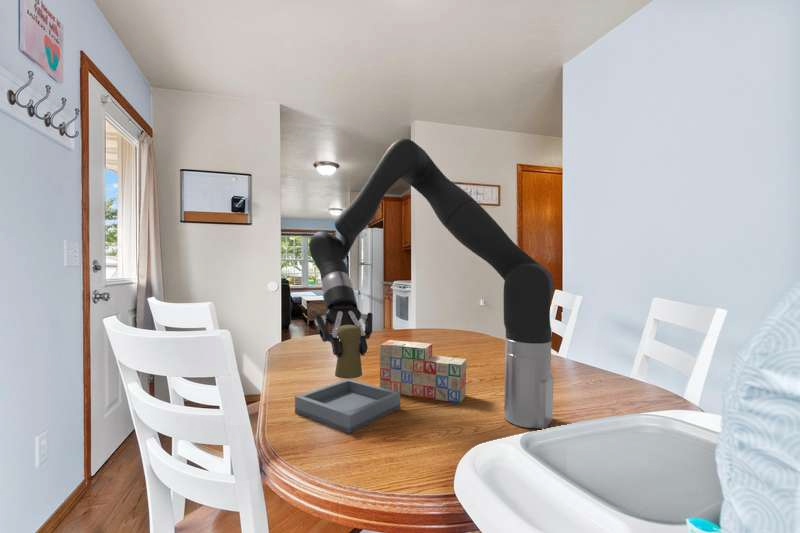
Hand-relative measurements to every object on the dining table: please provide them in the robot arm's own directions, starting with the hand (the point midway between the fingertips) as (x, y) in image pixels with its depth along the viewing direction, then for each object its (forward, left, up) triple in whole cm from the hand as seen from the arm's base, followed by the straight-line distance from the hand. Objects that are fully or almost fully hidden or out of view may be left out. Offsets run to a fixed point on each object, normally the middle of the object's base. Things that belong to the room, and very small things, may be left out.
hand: (351, 354), depth 83 cm
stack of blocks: (-5, -21, -13) cm, 25 cm away
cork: (+2, -1, -5) cm, 6 cm away
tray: (+1, -1, -13) cm, 13 cm away
